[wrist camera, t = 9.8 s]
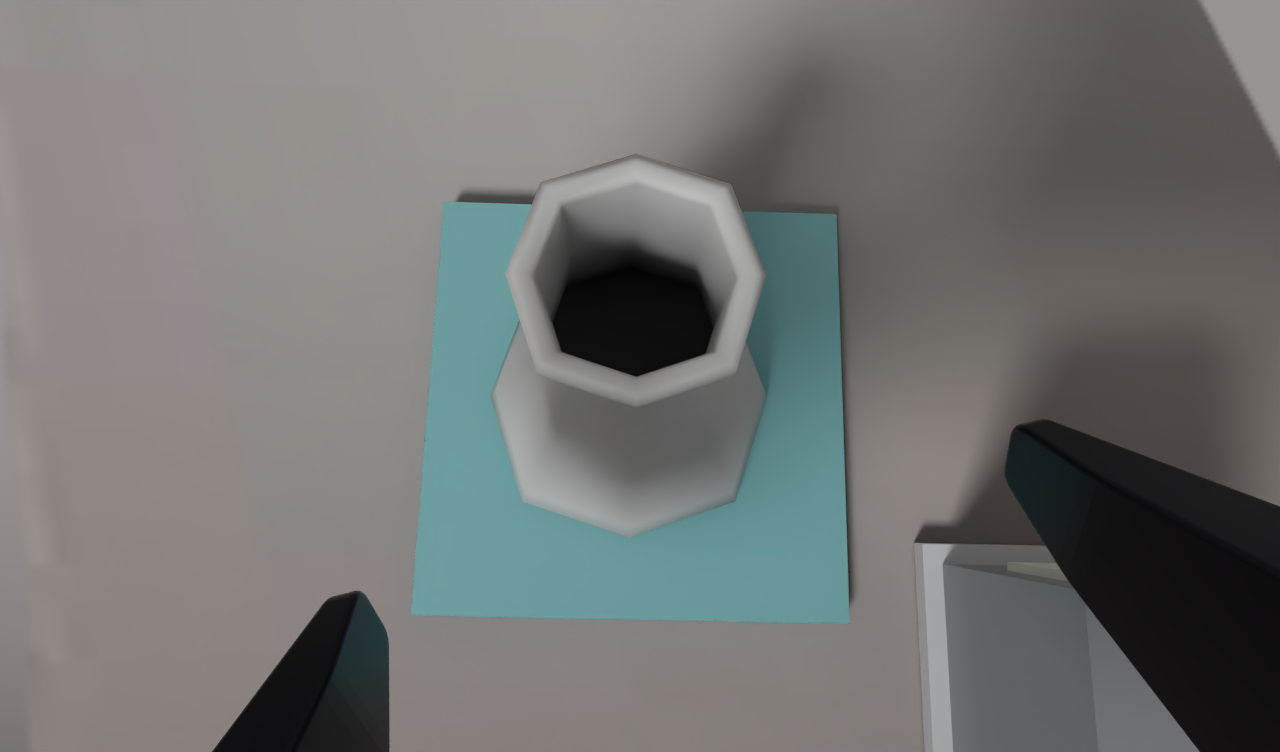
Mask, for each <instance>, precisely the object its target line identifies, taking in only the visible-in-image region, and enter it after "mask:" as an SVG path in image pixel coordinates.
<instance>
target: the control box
mask: <svg viewBox="0 0 1280 752" xmlns="http://www.w3.org/2000/svg"><path fill="white" fill-rule="evenodd" d="M914 548H915V568H916V588H917V608H918V628H919V649H920V669H921V689H922V709H923V729H924V749H925V752H1199V750H1198V749H1197V748H1196V747H1195V745H1194V744H1193V743H1192V741H1191V740H1190V739H1189V737H1188V736H1187V735H1186V734H1185V732H1184V731H1183V730H1182V728H1181V727H1180V726H1179V724H1178V723H1177V722H1176V721H1175V719H1174V718H1173V717H1172V715H1171V714H1170V713H1169V712H1168V710H1167V709H1166V708H1165V706H1164V705H1163V704H1162V702H1161V701H1160V700H1159V699H1158V697H1157V696H1156V695H1155V693H1154V692H1153V691H1152V689H1151V688H1150V687H1149V686H1148V684H1147V683H1146V682H1145V680H1144V679H1143V678H1142V677H1141V675H1140V674H1139V673H1138V671H1137V670H1136V669H1135V667H1134V666H1133V665H1132V664H1131V662H1130V661H1129V660H1128V658H1127V657H1126V656H1125V654H1124V653H1123V652H1122V651H1121V649H1120V648H1119V647H1118V645H1117V644H1116V643H1115V642H1114V640H1113V639H1112V638H1111V636H1110V635H1109V634H1108V632H1107V631H1106V630H1105V629H1104V627H1103V626H1102V625H1101V623H1100V622H1099V621H1098V619H1097V618H1096V617H1095V616H1094V614H1093V613H1092V612H1091V610H1090V609H1089V608H1088V607H1087V605H1086V604H1085V603H1084V601H1083V600H1082V599H1081V597H1080V596H1079V595H1078V593H1077V592H1076V591H1075V589H1074V588H1073V587H1072V585H1071V584H1070V583H1069V581H1068V580H1067V579H1066V577H1065V575H1064V574H1063V572H1062V571H1061V569H1060V568H1059V566H1058V565H1057V563H1056V562H1055V560H1054V559H1053V557H1052V555H1051V554H1050V552H1049V551H1048V549H1047V547H1046V546H1045V545H1000V544H955V543H914Z"/></svg>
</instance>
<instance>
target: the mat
mask: <svg viewBox="0 0 1280 752" xmlns="http://www.w3.org/2000/svg"><path fill="white" fill-rule="evenodd" d="M531 206H532V204H503V203H472V202H444V209H443V222H442V234H441V247H440V259H439V271H438V284H437V296H436V309H435V321H434V334H433V346H432V359H431V371H430V383H429V396H428V408H427V421H426V433H425V446H424V458H423V470H422V483H421V495H420V508H419V520H418V533H417V545H416V558H415V570H414V582H413V595H412V607H411V615H432V616H483V617H533V618H584V619H635V620H686V621H737V622H788V623H839V624H850V619H849V588H848V556H847V525H846V494H845V463H844V432H843V401H842V369H841V338H840V307H839V276H838V245H837V214H818V213H787V212H755V211H742V214H743V216H744V219H745V221H746V224H747V227H748V229H749V232H750V234H751V237H752V240H753V242H754V245H755V247H756V250H757V253H758V255H759V258H760V260H761V263H762V266H763V268H764V271H765V273H766V277H765V280H764V284H763V287H762V290H761V293H760V297H759V300H758V303H757V306H756V310H755V313H754V316H753V319H752V323H751V326H750V329H749V332H748V335H747V339H746V341H747V344H748V347H749V350H750V352H751V355H752V358H753V360H754V363H755V366H756V368H757V371H758V374H759V376H760V379H761V382H762V384H763V387H764V390H765V392H766V395H767V398H766V401H765V404H764V408H763V411H762V414H761V418H760V421H759V424H758V428H757V431H756V434H755V438H754V441H753V444H752V448H751V451H750V454H749V458H748V461H747V465H746V468H745V471H744V475H743V478H742V481H741V485H740V488H739V491H738V495H737V498H736V501H735V502H732V503H729V504H726V505H723V506H720V507H717V508H715V509H712V510H709V511H706V512H703V513H700V514H697V515H694V516H691V517H689V518H686V519H683V520H680V521H677V522H674V523H671V524H668V525H665V526H663V527H660V528H657V529H654V530H651V531H648V532H645V533H642V534H639V535H637V536H634V537H631V538H628V537H625V536H622V535H619V534H616V533H613V532H610V531H607V530H604V529H601V528H598V527H595V526H592V525H589V524H586V523H583V522H580V521H577V520H574V519H571V518H568V517H565V516H563V515H560V514H557V513H554V512H551V511H548V510H545V509H542V508H539V507H536V506H533V505H530V504H527V503H524V502H522V500H521V496H520V493H519V490H518V486H517V483H516V480H515V476H514V473H513V470H512V467H511V463H510V460H509V457H508V453H507V450H506V447H505V443H504V440H503V437H502V433H501V430H500V427H499V423H498V420H497V417H496V413H495V410H494V407H493V403H492V400H491V397H490V395H491V393H492V390H493V387H494V385H495V382H496V379H497V377H498V374H499V371H500V369H501V366H502V363H503V361H504V358H505V355H506V353H507V350H508V347H509V345H510V342H511V339H512V337H513V334H514V332H515V329H516V326H517V324H518V321H519V316H518V313H517V310H516V306H515V303H514V300H513V297H512V294H511V291H510V287H509V284H508V281H507V278H506V275H505V273H506V270H507V268H508V265H509V263H510V260H511V257H512V255H513V252H514V250H515V247H516V244H517V242H518V239H519V237H520V234H521V231H522V229H523V226H524V224H525V221H526V219H527V216H528V213H529V211H530V208H531Z"/></svg>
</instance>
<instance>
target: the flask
mask: <svg viewBox="0 0 1280 752" xmlns="http://www.w3.org/2000/svg"><path fill="white" fill-rule="evenodd" d="M505 275H506V278H507V281H508V284H509V287H510V291H511V294H512V297H513V300H514V303H515V306H516V310H517V313H518V316H519V321H518V324H517V326H516V329H515V332H514V334H513V337H512V339H511V342H510V345H509V347H508V350H507V353H506V355H505V358H504V361H503V363H502V366H501V369H500V371H499V374H498V377H497V379H496V382H495V385H494V387H493V390H492V393H491V395H490V397H491V400H492V403H493V407H494V410H495V413H496V417H497V420H498V423H499V427H500V430H501V433H502V437H503V440H504V443H505V447H506V450H507V453H508V457H509V460H510V463H511V467H512V470H513V473H514V476H515V480H516V483H517V486H518V490H519V493H520V496H521V500H522V502H524V503H527V504H530V505H533V506H536V507H539V508H542V509H545V510H548V511H551V512H554V513H557V514H560V515H563V516H565V517H568V518H571V519H574V520H577V521H580V522H583V523H586V524H589V525H592V526H595V527H598V528H601V529H604V530H607V531H610V532H613V533H616V534H619V535H622V536H625V537H628V538H631V537H634V536H637V535H639V534H642V533H645V532H648V531H651V530H654V529H657V528H660V527H663V526H665V525H668V524H671V523H674V522H677V521H680V520H683V519H686V518H689V517H691V516H694V515H697V514H700V513H703V512H706V511H709V510H712V509H715V508H717V507H720V506H723V505H726V504H729V503H732V502H735V501H736V498H737V495H738V491H739V488H740V485H741V481H742V478H743V475H744V471H745V468H746V465H747V461H748V458H749V454H750V451H751V448H752V444H753V441H754V438H755V434H756V431H757V428H758V424H759V421H760V418H761V414H762V411H763V408H764V404H765V401H766V398H767V395H766V392H765V390H764V387H763V384H762V382H761V379H760V376H759V374H758V371H757V368H756V366H755V363H754V360H753V358H752V355H751V352H750V350H749V347H748V344H747V341H746V339H747V335H748V332H749V329H750V326H751V323H752V319H753V316H754V313H755V310H756V306H757V303H758V300H759V297H760V293H761V290H762V287H763V284H764V280H765V277H766V273H765V271H764V268H763V266H762V263H761V260H760V258H759V255H758V253H757V250H756V247H755V245H754V242H753V240H752V237H751V234H750V232H749V229H748V227H747V224H746V221H745V219H744V216H743V214H742V211H741V208H740V206H739V203H738V201H737V198H736V195H735V193H734V190H733V188H732V185H731V184H729V183H726V182H723V181H720V180H717V179H714V178H710V177H707V176H704V175H701V174H698V173H695V172H692V171H688V170H685V169H682V168H679V167H676V166H673V165H669V164H666V163H663V162H660V161H657V160H654V159H651V158H647V157H644V156H641V155H638V154H634V155H631V156H627V157H624V158H621V159H617V160H614V161H611V162H607V163H604V164H601V165H597V166H594V167H590V168H587V169H584V170H580V171H577V172H574V173H570V174H567V175H564V176H560V177H557V178H554V179H550V180H547V181H544V182H540V185H539V187H538V190H537V193H536V195H535V198H534V200H533V203H532V206H531V208H530V211H529V213H528V216H527V219H526V221H525V224H524V226H523V229H522V231H521V234H520V237H519V239H518V242H517V244H516V247H515V250H514V252H513V255H512V257H511V260H510V263H509V265H508V268H507V270H506V273H505Z"/></svg>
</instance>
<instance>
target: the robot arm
mask: <svg viewBox="0 0 1280 752" xmlns="http://www.w3.org/2000/svg"><path fill="white" fill-rule="evenodd" d="M1004 471H1005V478H1006V481H1007V484H1008V486H1009V488H1010V489H1011V491H1012V493H1013V494H1014V496H1015V497H1016V499H1017V501H1018V502H1019V504H1020V505H1021V507H1022V509H1023V510H1024V512H1025V513H1026V515H1027V517H1028V518H1029V520H1030V522H1031V523H1032V525H1033V526H1034V528H1035V530H1036V531H1037V533H1038V534H1039V536H1040V538H1041V539H1042V541H1043V542H1044V544H1045V546H1046V547H1047V549H1048V551H1049V552H1050V554H1051V555H1052V557H1053V559H1054V560H1055V562H1056V563H1057V565H1058V566H1059V568H1060V569H1061V571H1062V572H1063V574H1064V575H1065V577H1066V579H1067V580H1068V581H1069V583H1070V584H1071V585H1072V587H1073V588H1074V589H1075V591H1076V592H1077V593H1078V595H1079V596H1080V597H1081V599H1082V600H1083V601H1084V603H1085V604H1086V605H1087V607H1088V608H1089V609H1090V610H1091V612H1092V613H1093V614H1094V616H1095V617H1096V618H1097V619H1098V621H1099V622H1100V623H1101V625H1102V626H1103V627H1104V629H1105V630H1106V631H1107V632H1108V634H1109V635H1110V636H1111V638H1112V639H1113V640H1114V642H1115V643H1116V644H1117V645H1118V647H1119V648H1120V649H1121V651H1122V652H1123V653H1124V654H1125V656H1126V657H1127V658H1128V660H1129V661H1130V662H1131V664H1132V665H1133V666H1134V667H1135V669H1136V670H1137V671H1138V673H1139V674H1140V675H1141V677H1142V678H1143V679H1144V680H1145V682H1146V683H1147V684H1148V686H1149V687H1150V688H1151V689H1152V691H1153V692H1154V693H1155V695H1156V696H1157V697H1158V699H1159V700H1160V701H1161V702H1162V704H1163V705H1164V706H1165V708H1166V709H1167V710H1168V712H1169V713H1170V714H1171V715H1172V717H1173V718H1174V719H1175V721H1176V722H1177V723H1178V724H1179V726H1180V727H1181V728H1182V730H1183V731H1184V732H1185V734H1186V735H1187V736H1188V737H1189V739H1190V740H1191V741H1192V743H1193V744H1194V745H1195V747H1196V748H1197V749H1198V750H1199V752H1280V507H1279V506H1277V505H1274V504H1271V503H1269V502H1266V501H1263V500H1261V499H1258V498H1255V497H1253V496H1250V495H1247V494H1245V493H1242V492H1239V491H1237V490H1234V489H1231V488H1229V487H1226V486H1223V485H1221V484H1218V483H1215V482H1213V481H1210V480H1207V479H1205V478H1202V477H1199V476H1197V475H1194V474H1192V473H1189V472H1186V471H1184V470H1181V469H1178V468H1176V467H1173V466H1170V465H1168V464H1165V463H1162V462H1160V461H1157V460H1154V459H1152V458H1149V457H1146V456H1144V455H1141V454H1138V453H1136V452H1133V451H1130V450H1128V449H1125V448H1122V447H1120V446H1117V445H1114V444H1112V443H1109V442H1106V441H1104V440H1101V439H1098V438H1096V437H1093V436H1090V435H1088V434H1085V433H1082V432H1080V431H1077V430H1074V429H1072V428H1069V427H1066V426H1064V425H1061V424H1058V423H1056V422H1053V421H1050V420H1045V419H1041V420H1036V421H1032V422H1028V423H1024V424H1020V425H1018V426H1016V427H1015V428H1014V429H1013V431H1012V433H1011V437H1010V442H1009V447H1008V452H1007V457H1006V463H1005V469H1004ZM212 752H389V642H388V636H387V632H386V629H385V627H384V625H383V623H382V622H381V620H380V618H379V617H378V615H377V613H376V612H375V610H374V608H373V607H372V605H371V603H370V602H369V600H368V598H367V597H366V595H365V594H364V593H362V592H361V591H353V592H349V593H345V594H341V595H337V596H333V597H331V598H329V599H328V600H326V601H325V602H324V604H323V605H322V606H321V607H320V609H319V610H318V611H317V613H316V614H315V615H314V617H313V618H312V619H311V621H310V622H309V623H308V625H307V626H306V627H305V629H304V630H303V631H302V633H301V634H300V635H299V637H298V638H297V639H296V641H295V642H294V643H293V645H292V646H291V647H290V649H289V650H288V651H287V653H286V654H285V655H284V657H283V658H282V659H281V661H280V662H279V663H278V665H277V666H276V667H275V669H274V670H273V671H272V673H271V674H270V675H269V677H268V678H267V679H266V681H265V682H264V683H263V685H262V686H261V687H260V689H259V690H258V691H257V693H256V694H255V695H254V697H253V698H252V699H251V701H250V702H249V703H248V705H247V706H246V707H245V709H244V710H243V711H242V713H241V714H240V715H239V717H238V718H237V719H236V721H235V722H234V723H233V725H232V726H231V727H230V729H229V730H228V731H227V733H226V734H225V735H224V736H223V738H222V739H221V740H220V742H219V743H218V744H217V746H216V747H215V748H214V750H213V751H212Z"/></svg>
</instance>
